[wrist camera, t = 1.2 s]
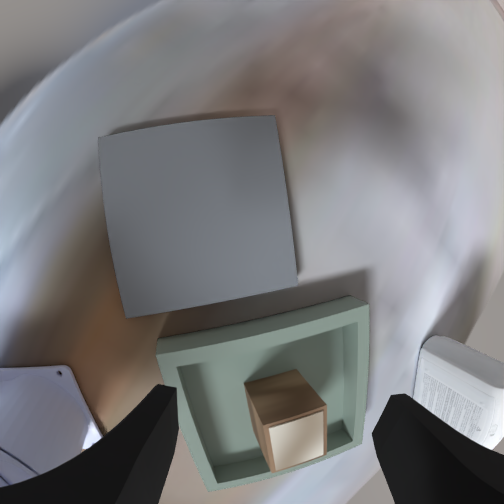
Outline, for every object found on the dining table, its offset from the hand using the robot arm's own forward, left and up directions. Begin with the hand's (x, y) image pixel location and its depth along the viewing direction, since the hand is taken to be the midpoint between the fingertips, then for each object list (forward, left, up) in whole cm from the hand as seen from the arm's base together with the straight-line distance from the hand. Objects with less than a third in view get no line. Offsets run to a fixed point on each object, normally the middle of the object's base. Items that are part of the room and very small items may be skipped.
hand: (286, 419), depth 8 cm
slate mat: (-1, +7, -11) cm, 13 cm away
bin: (+2, -8, -11) cm, 13 cm away
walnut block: (+2, -8, -11) cm, 13 cm away
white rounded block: (+19, -13, -11) cm, 26 cm away
